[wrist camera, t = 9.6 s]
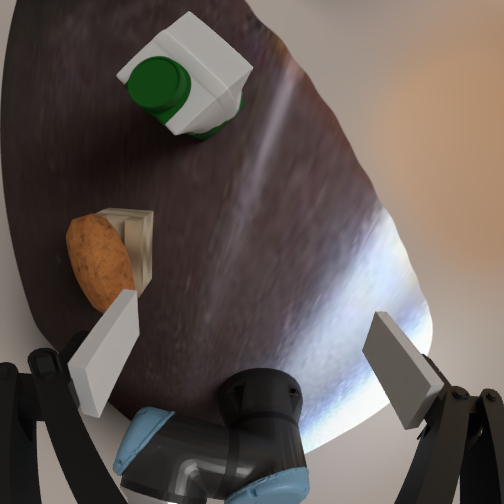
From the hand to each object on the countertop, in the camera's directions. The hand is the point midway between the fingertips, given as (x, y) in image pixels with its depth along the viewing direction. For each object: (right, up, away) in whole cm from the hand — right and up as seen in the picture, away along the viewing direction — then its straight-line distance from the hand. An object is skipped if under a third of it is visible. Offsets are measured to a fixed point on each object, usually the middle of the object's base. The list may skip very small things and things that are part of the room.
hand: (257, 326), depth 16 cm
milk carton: (-6, +23, +21) cm, 32 cm away
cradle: (-18, +5, +26) cm, 32 cm away
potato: (-18, +3, +20) cm, 27 cm away
